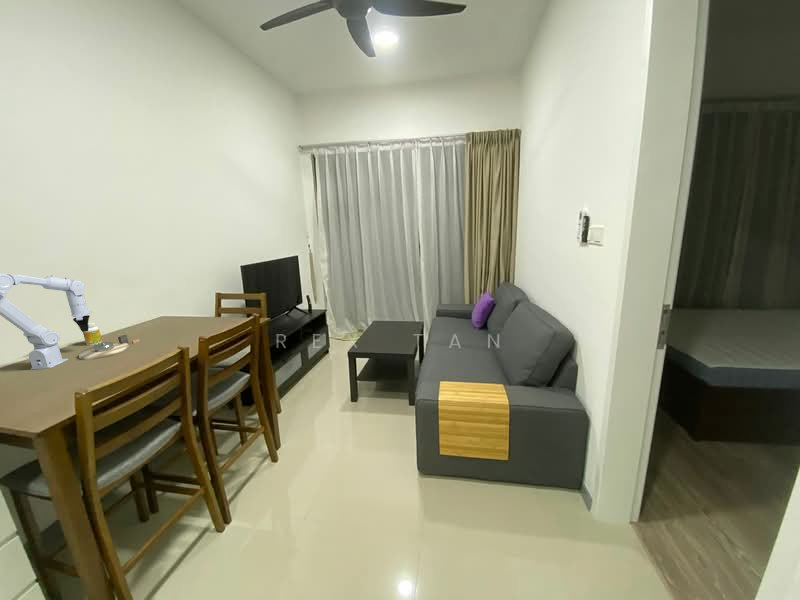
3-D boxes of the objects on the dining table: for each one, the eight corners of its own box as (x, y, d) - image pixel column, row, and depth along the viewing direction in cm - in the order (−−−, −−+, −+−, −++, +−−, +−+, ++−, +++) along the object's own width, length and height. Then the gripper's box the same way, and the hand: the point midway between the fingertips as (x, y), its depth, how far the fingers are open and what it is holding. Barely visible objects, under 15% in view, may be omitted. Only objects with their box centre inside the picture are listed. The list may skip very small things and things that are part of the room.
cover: (117, 346, 159) (116, 340, 158) (102, 352, 152) (100, 345, 152) (106, 346, 160) (104, 340, 160) (91, 351, 154) (89, 345, 153)
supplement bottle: (94, 345, 167) (89, 325, 164) (82, 346, 167) (77, 325, 164) (105, 341, 173) (100, 321, 170) (94, 341, 173) (89, 321, 170)
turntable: (141, 344, 165) (139, 335, 164) (99, 360, 146) (96, 350, 145) (113, 343, 169) (111, 334, 168) (69, 358, 150) (66, 348, 149)
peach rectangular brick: (133, 343, 168) (133, 341, 168) (132, 343, 168) (131, 340, 168) (140, 341, 171) (139, 339, 170) (138, 341, 171) (138, 338, 171)
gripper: (87, 305, 151) (95, 332, 154) (90, 300, 162) (97, 326, 165) (66, 308, 146) (74, 336, 150) (70, 302, 157) (78, 329, 161)
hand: (85, 331), depth 157 cm, fingers closed
